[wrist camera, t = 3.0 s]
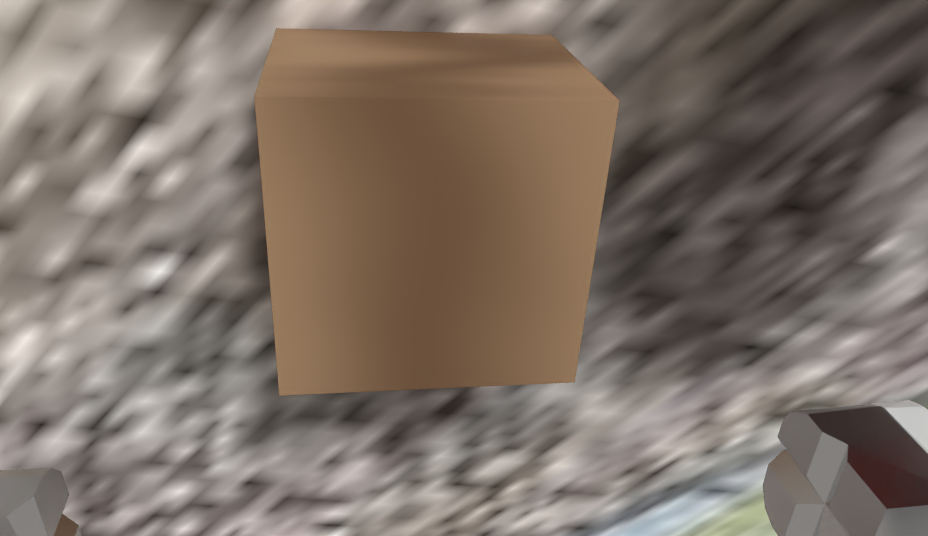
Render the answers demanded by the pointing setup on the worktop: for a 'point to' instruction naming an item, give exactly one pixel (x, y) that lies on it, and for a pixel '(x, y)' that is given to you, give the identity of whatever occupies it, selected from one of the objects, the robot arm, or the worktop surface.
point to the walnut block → (429, 207)
